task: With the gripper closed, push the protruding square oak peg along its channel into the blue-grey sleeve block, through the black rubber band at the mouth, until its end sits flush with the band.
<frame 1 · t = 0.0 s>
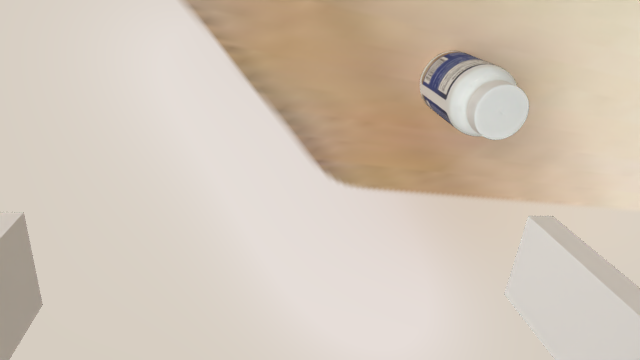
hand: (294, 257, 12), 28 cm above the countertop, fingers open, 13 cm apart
pill bottle: (446, 80, 41), on the countertop
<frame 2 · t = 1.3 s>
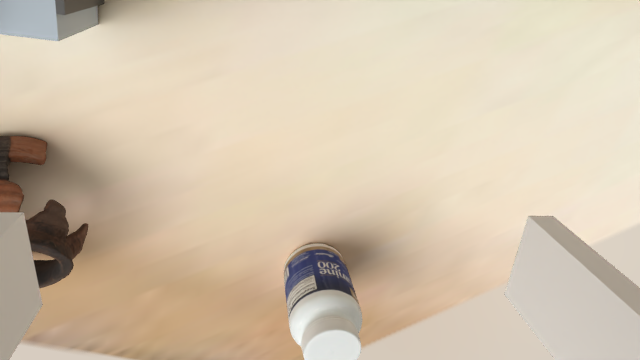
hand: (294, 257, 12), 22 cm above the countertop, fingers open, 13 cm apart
brown curved piece: (11, 193, 34), on the countertop
pill bottle: (313, 266, 40), on the countertop
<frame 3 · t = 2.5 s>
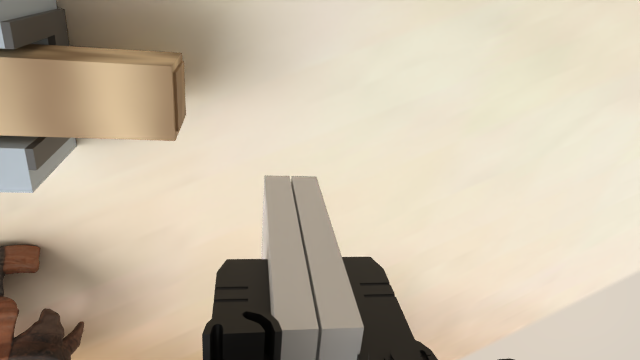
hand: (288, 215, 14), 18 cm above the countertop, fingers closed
brown curved piece: (11, 293, 35), on the countertop
peg: (65, 90, 25), point 4 cm above the countertop, slide at 0.0 cm
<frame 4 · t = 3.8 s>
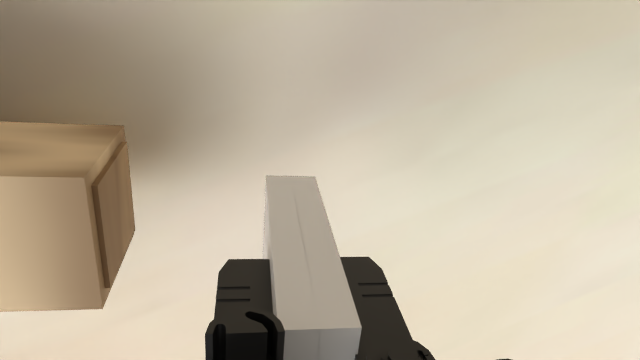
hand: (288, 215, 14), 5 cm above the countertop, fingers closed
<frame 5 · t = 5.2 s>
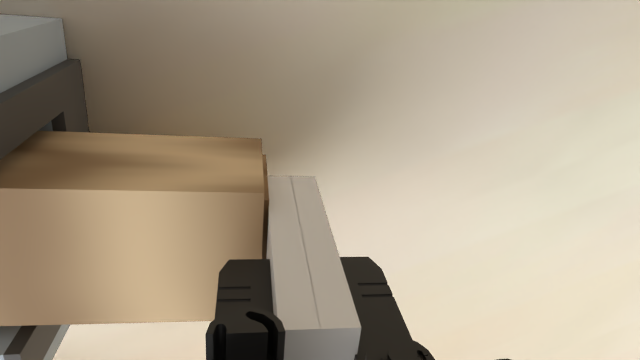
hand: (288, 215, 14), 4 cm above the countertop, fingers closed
peg: (50, 221, 13), point 4 cm above the countertop, slide at 0.9 cm, touching gripper
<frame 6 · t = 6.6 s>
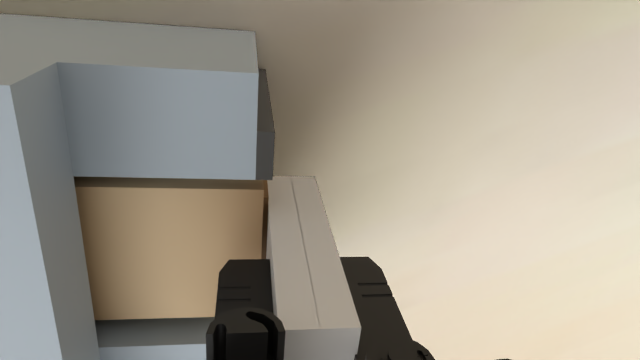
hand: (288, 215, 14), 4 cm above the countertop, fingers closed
peg: (51, 218, 13), point 5 cm above the countertop, slide at 7.2 cm, touching gripper
sleeve block: (89, 159, 17), on the countertop
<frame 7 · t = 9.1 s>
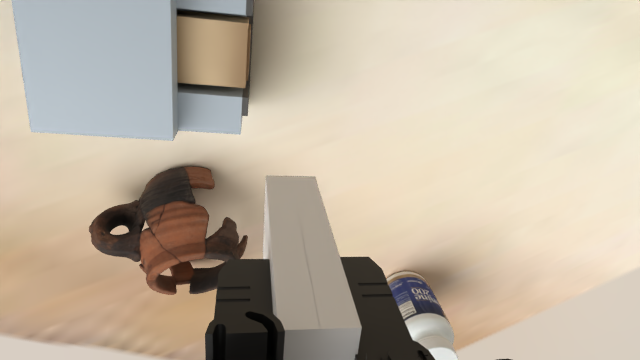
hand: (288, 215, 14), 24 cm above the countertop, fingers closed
brown curved piece: (179, 213, 41), on the countertop
pill bottle: (401, 290, 47), on the countertop
peg: (155, 43, 30), point 4 cm above the countertop, slide at 7.2 cm
sleeve block: (164, 34, 34), on the countertop
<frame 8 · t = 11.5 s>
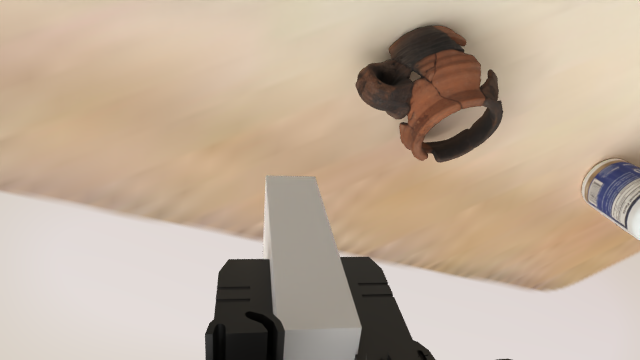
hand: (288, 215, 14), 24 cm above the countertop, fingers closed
brown curved piece: (412, 83, 39), on the countertop
pill bottle: (603, 181, 46), on the countertop
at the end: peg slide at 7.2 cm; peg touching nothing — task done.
